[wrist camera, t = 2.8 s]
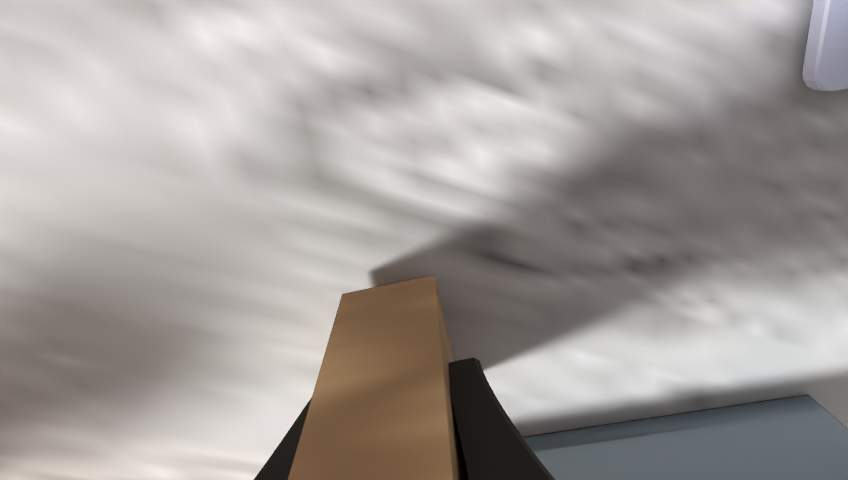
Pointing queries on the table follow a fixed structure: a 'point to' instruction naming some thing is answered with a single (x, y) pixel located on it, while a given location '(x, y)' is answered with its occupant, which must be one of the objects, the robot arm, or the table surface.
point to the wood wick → (384, 392)
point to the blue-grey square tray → (705, 446)
